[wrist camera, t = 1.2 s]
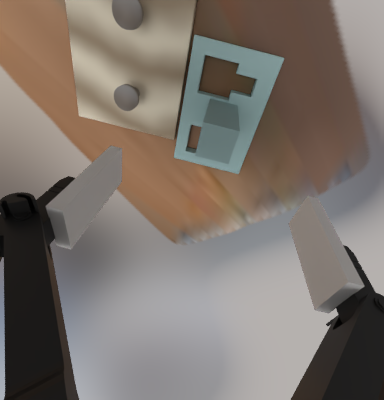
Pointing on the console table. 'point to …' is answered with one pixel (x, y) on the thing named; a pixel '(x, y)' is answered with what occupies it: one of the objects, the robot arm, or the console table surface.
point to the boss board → (131, 60)
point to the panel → (245, 101)
